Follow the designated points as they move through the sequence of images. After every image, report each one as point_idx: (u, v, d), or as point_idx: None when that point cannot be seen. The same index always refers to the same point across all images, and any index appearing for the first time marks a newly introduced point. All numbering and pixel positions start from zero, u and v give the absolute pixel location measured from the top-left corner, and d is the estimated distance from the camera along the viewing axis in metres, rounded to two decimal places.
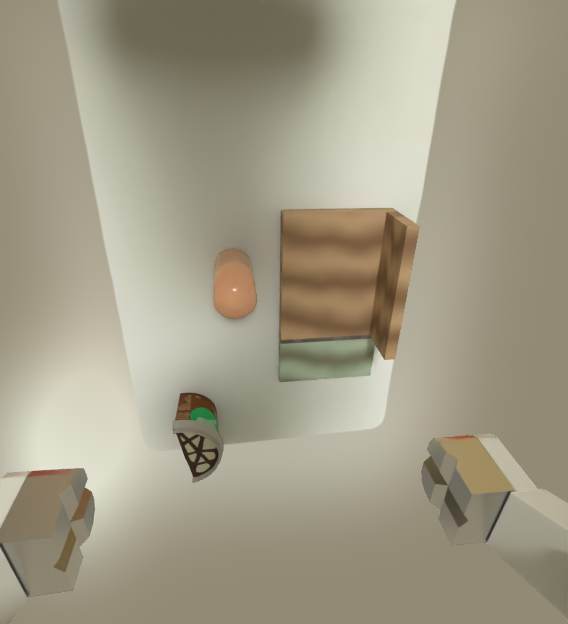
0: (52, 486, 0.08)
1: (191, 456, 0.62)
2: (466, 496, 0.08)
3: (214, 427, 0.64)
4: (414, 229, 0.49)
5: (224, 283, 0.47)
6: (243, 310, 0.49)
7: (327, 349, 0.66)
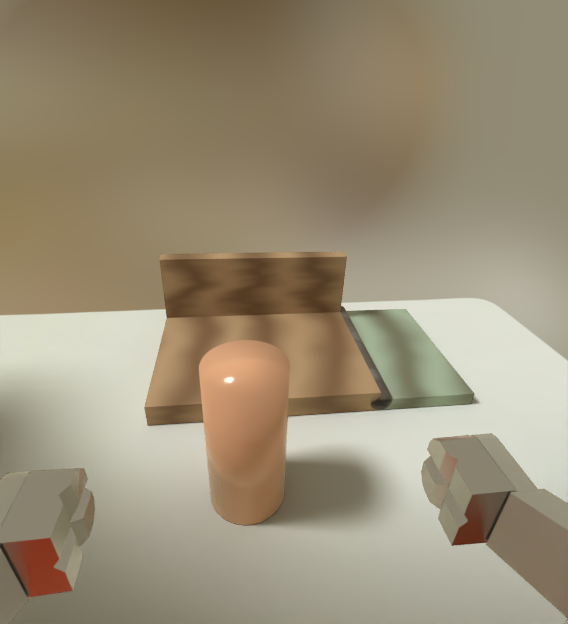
0: (52, 486, 0.08)
1: None
2: (466, 496, 0.08)
3: None
4: (164, 256, 0.42)
5: (203, 380, 0.22)
6: (270, 353, 0.24)
7: (381, 347, 0.42)
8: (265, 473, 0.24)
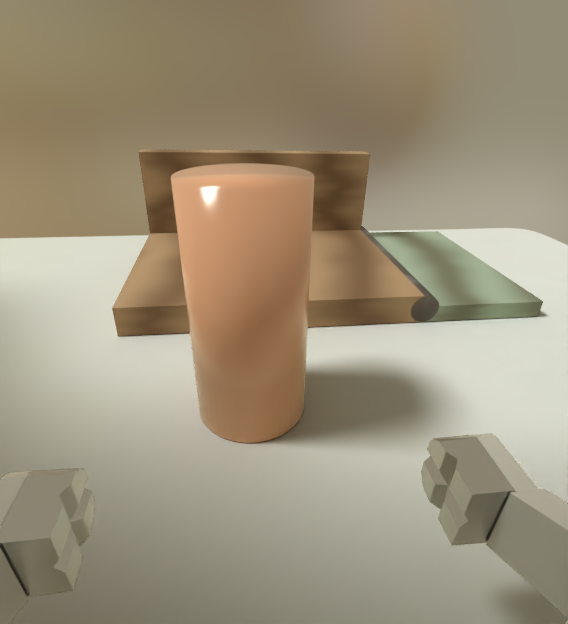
0: (52, 486, 0.08)
1: None
2: (466, 496, 0.08)
3: None
4: (145, 150, 0.34)
5: (177, 182, 0.13)
6: (281, 169, 0.16)
7: (415, 261, 0.34)
8: (279, 354, 0.16)
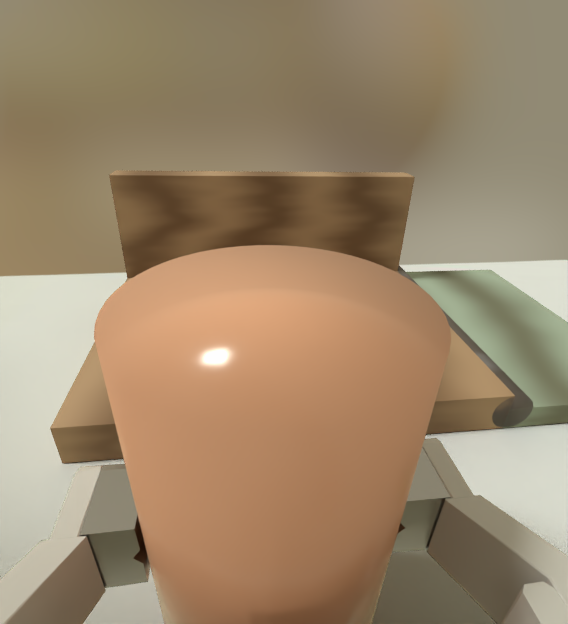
0: (127, 480, 0.08)
1: None
2: None
3: None
4: (119, 172, 0.26)
5: (104, 359, 0.05)
6: (351, 274, 0.07)
7: (476, 321, 0.26)
8: None
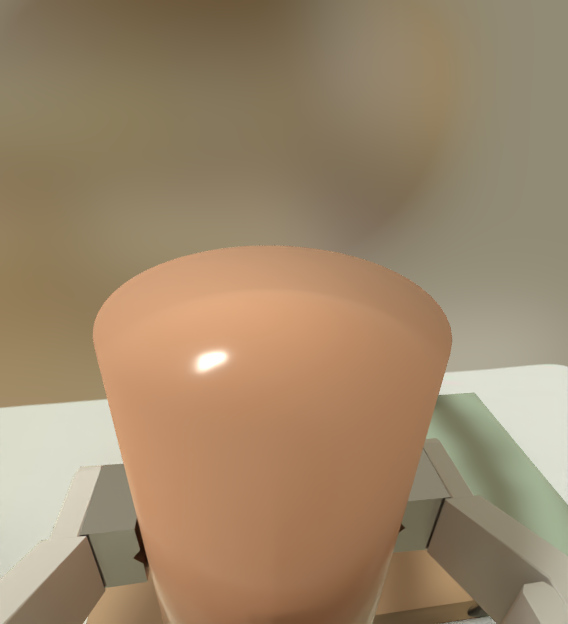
0: (127, 479, 0.08)
1: None
2: None
3: None
4: None
5: (103, 360, 0.05)
6: (352, 274, 0.07)
7: None
8: None
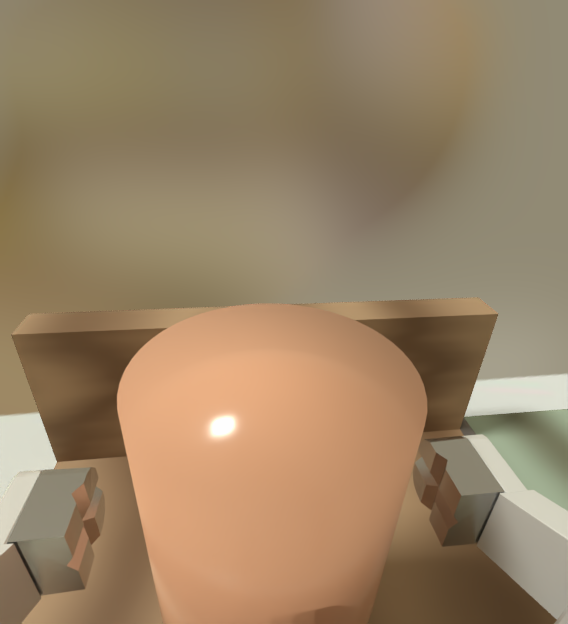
0: (65, 485, 0.08)
1: None
2: (455, 497, 0.08)
3: None
4: (33, 320, 0.16)
5: (128, 433, 0.06)
6: (343, 338, 0.08)
7: None
8: None
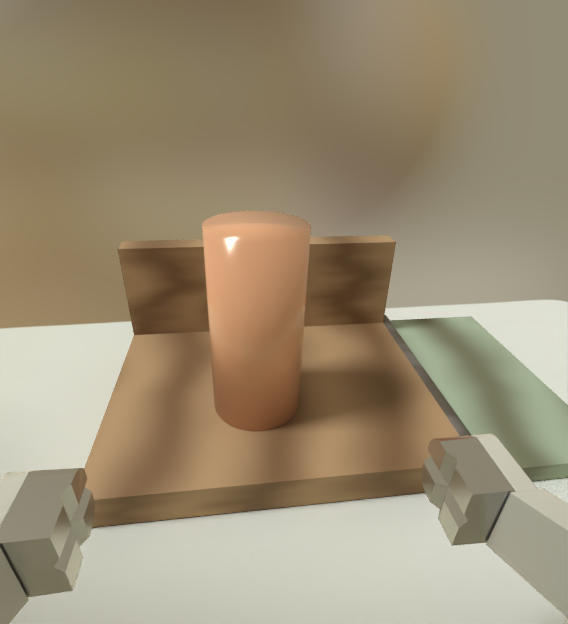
0: (52, 486, 0.08)
1: None
2: (466, 496, 0.08)
3: None
4: (126, 243, 0.28)
5: (208, 233, 0.18)
6: (285, 219, 0.20)
7: (452, 376, 0.28)
8: (280, 361, 0.20)
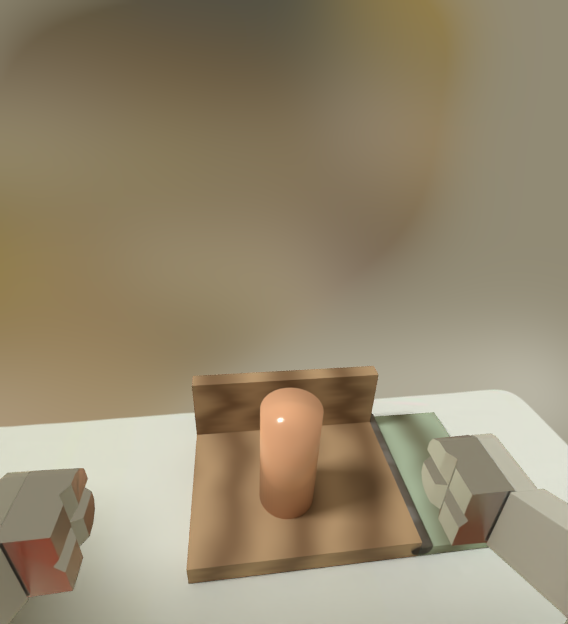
0: (52, 486, 0.08)
1: None
2: (466, 496, 0.08)
3: None
4: (196, 379, 0.42)
5: (265, 421, 0.31)
6: (308, 399, 0.34)
7: (414, 470, 0.42)
8: (303, 483, 0.34)
